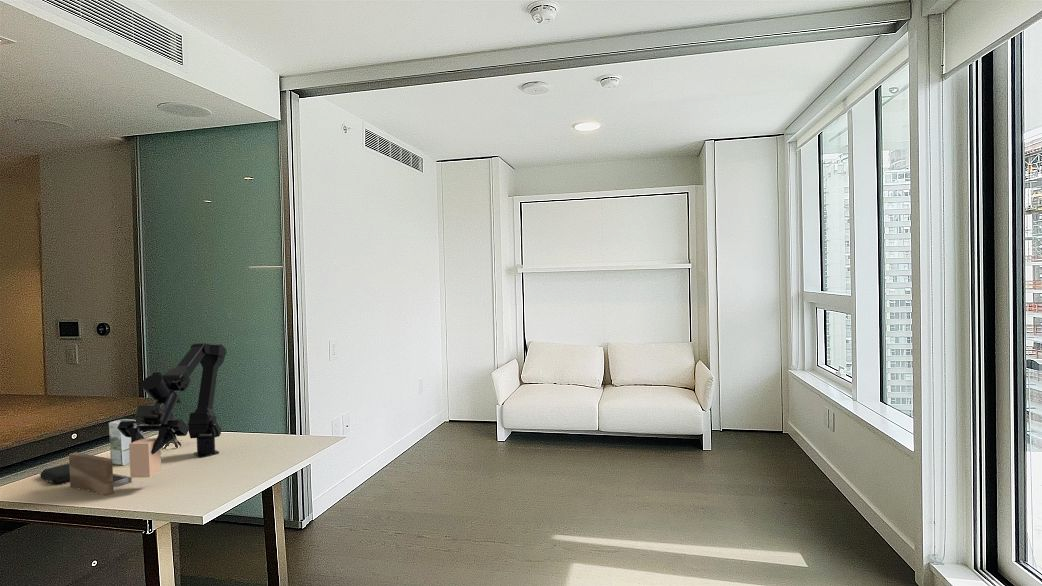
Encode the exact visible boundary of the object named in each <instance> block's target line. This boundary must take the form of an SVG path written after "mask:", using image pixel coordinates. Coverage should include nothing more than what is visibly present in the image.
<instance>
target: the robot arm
mask: <svg viewBox="0 0 1042 586" xmlns="http://www.w3.org/2000/svg"><path fill="white" fill-rule="evenodd" d="M226 356H227V349H226V347H224V344H221V343H220V344H218V343H216V344H215V343H214V344H212V343H207V342H195V343H192V344H191V345H190V349H189V351H187V352H186V354H185V355H184V357H182V359H181V361H180V362H179V363H178V364H177V366H175V367H174V368H171V369H170V370H168V371H166V372H165V373H164V374H162V372H160V371H155V372H152V374H151V375H149V376H147V377H146V378H144V379H143V380H142V381H141V384H140V385H141V386H140V387H141V389H143V391H144V392H145V393H146V394H147V395H148V397H149V398H150V399H152V400H154V402H153V404H152V405H148V404H147V405H145V404H144V405H143V404H141V405H137V407H136V412H135V416H134V417H135V418H140V421H141V422H142V423H143V424H139V423H137V421H135V420H136V419H130V420H127V421H121V422H120V423H119V425H118V427H117V428H118V429H119V431H120V432H121V433H122V434H123V435H124V436H125V437H131V443H132V442H135V441H137V440H139V439H145V437H144V436H143V432H158V433H157V437H156V438H157V439H156V441H155V443H154V446H153V448H152V451H151V453H152V454H155V453H156V452H157V451H158V450H159V449H160V448H162V447H163V446H164V445H166V443H168V442H169V441H170V440H172V439H174V438H177V437H187V435H188V434H189V438H190V439H196V451H195V452H193V455H194V456H196V457H198V458H204V457H207V456H213V455H216V454H219V453H220V451H218V450H216V438H218V437H220V436H221V434H222V428H221V426H220V424H219V423H218V422H217V415H216V413H215V412H214V410H213V407H214V400H215V399H214V398H215V393H216V392H215V391H216V384H217V377H218V370H219V368H221V366H222V365H223V364H224V361H225V357H226ZM199 363H200V365H201V367H202V371H201V377H200V385H199V392H198V400H197V404H196V405H197V406H196V409H195V410H194V411H193V412H190V413H189V416H188V417H189V418H188V423H187V424H186V423H185V421H184V420H183V419H182V418H180V419H178V418H177V419H176V418H174V419H173V417H174V415H173V414H172V413H173V411H174V410H175V409H174V408H175V406H176V404H181V398H180V397H179V396H180V395H179V394H177V392H184V391H186V390H187V389H188V387H189V385H190V383H191V382H192V381H191V374H192V373H193V372H194V370H195V369H196V368H197V366H198V365H199ZM171 418H172V419H171Z"/></svg>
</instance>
